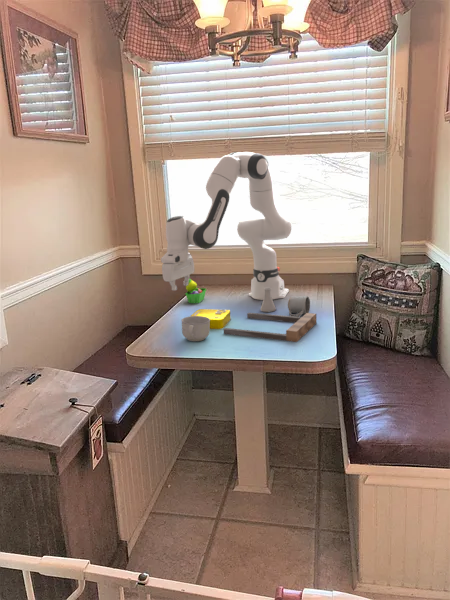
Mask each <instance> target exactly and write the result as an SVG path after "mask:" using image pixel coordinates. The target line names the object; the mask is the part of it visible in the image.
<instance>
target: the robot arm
mask: <svg viewBox="0 0 450 600" xmlns="http://www.w3.org/2000/svg"><path fill="white" fill-rule="evenodd" d="M272 176H273V175H272V172H271V168H270V167H269V161H268V159H267V157H266V156H265V155H263V154H262V153H259V152H258V153H257V152H256V153H255V152H251V151H243V152H241V151H234V152H231V153H229V154H227V155H223V156H221V158H220V159H219V160H218V162H217V163H216V164H215V166H214V168H213V169H212V171H211V173H210V175H209V177H208V180H207V183H206V185H205V189H206V192H207V196H208V197H210V199H211V206H210V209H209V211H208V214H207V215H206V219H205V220H204V221H203V222H202V223H200V222H195V221H193V220H191V219H188V218H186V217H185V216H183V215H177V216H173V217H170V218H168V219H167V220H166V223H165V224H166V225H165V238H166V242H167V246H166V247H167V248H166V253H164V255H163V256H162V257H160V261H161V264H162V266H161V272H162V279H163V281H164V282H166V283H167V282H168V283H169V285H170V287H171V291H177V290H178V286H177V284H176V280H179V279H182V278H184V281H182V282H183V286H185V287H186V286H187V285H189V279H191V276H190V275H191V274H195V263H194V258H193V256H192V254H191V253H190V252H189V246H194V247H199V248H201V249H204V250H208V249H211V248H213V247H214V246H215V245H216V244H217V242H218V239H219V231H220V227H221V224H222V220H223V218H224V216H225V213H226V211H227V208H228V206H229V202H230V196H231V193H232V191H233V188H234V186H235V184H236V182H237V180H238V178H242V179H248V189H249V201H250V202H249V203H250V206H251V208H252V209H254V210H255V211H257V212H260V213H261V214H262V215H263V216H256V217H255V216H253V217H252V216H251V217H245V218H243V219H241V220H239V222H238V224H237V234H238V237H240V239H241V240H243V241H244V242H245V243H247V245H248V247H249V248H250V250H251V252H252V257H253V258H252V259H253V272H252V273H253V274H252V275H253V278H251V280H250V281H251V283H250V284H251V285H250V292H249V293H248V296H249V297H251V298H252V299H255V300H258V301H259V300H260V301H263V299H264V295H265V290H264V288H271V297H272V300H277V299H285V298H286V296H287V294H288V293H289V291H290V290H289V288H286V287H285V281H284V279H282V277H281V276H280V273H279V272H280V270H281V268H280V266H277V265H278V263H277V261H278V258H277V252H276V250H275V249H273V248H272V247H270V246H268V245H266V243H265V242H264V241H278V240H283V239H287V238H288V237H289V236H290V234H291V232H292V224H291V223H292V222H291V221H290V220H289V218H287V217H285V216H284V215H283V214H282V213H281V212H280V211H279V209H278V207H277V205H276V200H275V195H274V194H275V192H274V183H273V182H274V181H273V177H272Z"/></svg>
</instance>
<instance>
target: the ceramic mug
mask: <svg viewBox="0 0 450 600" xmlns="http://www.w3.org/2000/svg"><path fill="white" fill-rule="evenodd" d="M287 309H288V313H289V316H294V317H302V315H305V314H306V313H310V311H311V310H310V309H311V301H310V297H309V296H306V295H304V296H301V295H300V296H291V297H289V299H288V302H287Z"/></svg>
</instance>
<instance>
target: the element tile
mask: <svg viewBox="0 0 450 600" xmlns="http://www.w3.org/2000/svg"><path fill="white" fill-rule="evenodd" d="M190 316H203V317H207V318H209V319H210V330H222V329H224V328H226V326H227V325H228V323H229V322H230V321H231V310H230V309H213V308H211V309H207V308H206V309H205V308H202V309H201V308H199V309H197V310H196V311H195V312H193V313H192V314H191V315H190Z"/></svg>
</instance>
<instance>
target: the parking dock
mask: <svg viewBox="0 0 450 600" xmlns="http://www.w3.org/2000/svg"><path fill="white" fill-rule="evenodd" d="M246 316H247V319H255V320H265V321H266V320H267V321H275V322H287V323H293V324H292V325H291V326H290V327H288V328H287V329H286V331H285V333H279V332H270V331H269V332H268V331H259V330H249V329H242V328H231V327H230V328H229V327H224V328H223V334H224V335H231V336H240V337H249V338H258V339H265V340H267V339H268V340H276V341H284V342H285V341H286V342H293V343H294V342H295V343H297V342H299V341H300V340H301V339H302V337H304V336H305V335H306V334H307V333H308V332H309V331H310V330H311V329H312V328H313V327H314V326H315V325H317V313H311V312H309V313H306V314H303V316H299V317H294V316H290V315H281V314H272V313H271V314H270V313H269V314H268V313H259V312H258V313H257V312H247V313H246Z"/></svg>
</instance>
